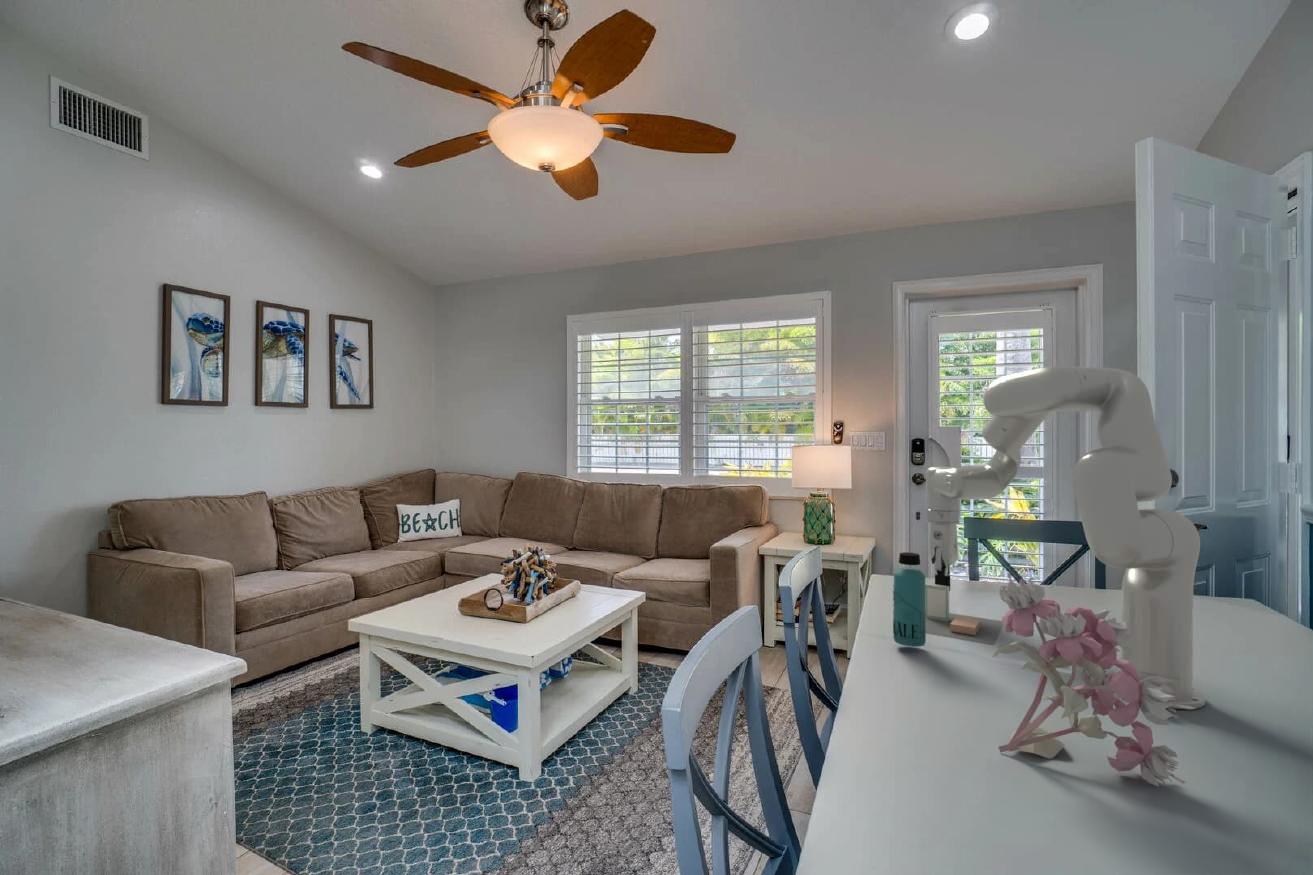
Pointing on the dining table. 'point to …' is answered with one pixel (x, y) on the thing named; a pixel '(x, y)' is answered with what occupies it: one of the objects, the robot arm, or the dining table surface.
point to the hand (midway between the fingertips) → (942, 591)
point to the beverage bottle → (909, 603)
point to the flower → (1086, 682)
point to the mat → (984, 634)
